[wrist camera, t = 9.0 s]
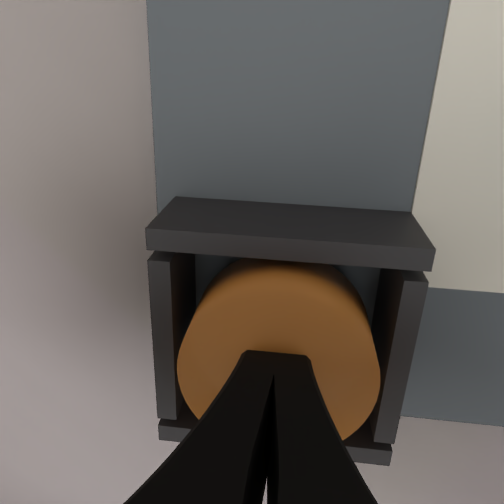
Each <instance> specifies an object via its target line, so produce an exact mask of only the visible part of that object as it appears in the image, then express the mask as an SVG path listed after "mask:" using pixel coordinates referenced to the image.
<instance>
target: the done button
mask: <svg viewBox="0 0 504 504" xmlns="http://www.w3.org/2000/svg"><path fill="white" fill-rule="evenodd" d="M246 350H256V351H267V352H278V353H288V354H299V355H306V356H307V357H308V358H309V359H310V360H311V364H312V368H313V371H314V375H315V378H316V381H317V384H318V387H319V389H320V392H321V394H322V397H323V399H324V402H325V404H326V407H327V409H328V411H329V413H330V416H331V418H332V420H333V422H334V424H335V426H336V428H337V430H338V432H339V435H340V437H341V439H342V441H343V440H344V439H346V438H347V437H349V436H350V435H351V434H353V433H354V432H355V431H356V430H357V429H359V427H360V426H361V425H362V424H363V423H364V422H365V421H366V419H367V418H368V416H369V415H370V413H371V412H372V410H373V408H374V406H375V403H376V401H377V398H378V394H379V390H380V367H379V363H378V359H377V355H376V350H375V346H374V342H373V338H372V333H371V329H370V325H369V321H368V316H367V312H366V308H365V305H364V303H363V300H362V298H361V296H360V295H359V293H358V291H357V290H356V288H355V287H354V286H353V284H352V283H351V282H350V281H349V280H348V279H347V278H346V277H345V276H344V275H343V274H342V273H341V272H339V271H338V270H337V269H335V268H334V267H333V266H331V265H329V264H323V263H310V262H297V261H284V260H271V259H258V258H245V257H244V258H241V259H239V260H237V261H235V262H233V263H232V264H230V265H229V266H227V267H226V268H224V269H223V270H222V271H220V272H219V273H218V274H217V275H216V276H215V277H214V278H213V280H212V281H211V282H210V283H209V285H208V286H207V288H206V290H205V291H204V293H203V295H202V297H201V300H200V302H199V304H198V307H197V309H196V311H195V314H194V316H193V318H192V321H191V323H190V325H189V327H188V330H187V332H186V334H185V337H184V339H183V342H182V344H181V347H180V350H179V354H178V359H177V375H178V382H179V386H180V389H181V392H182V394H183V397H184V399H185V401H186V403H187V404H188V406H189V408H190V409H191V411H192V412H193V413H194V415H195V416H196V417H197V418H198V419H200V418H201V417H202V415H203V414H204V412H205V411H206V410H207V408H208V407H209V406H210V404H211V403H212V401H213V400H214V399H215V397H216V396H217V394H218V393H219V392H220V390H221V389H222V387H223V386H224V384H225V382H226V381H227V379H228V378H229V376H230V375H231V373H232V371H233V370H234V368H235V366H236V364H237V362H238V360H239V358H240V356H241V354H242V353H243V352H245V351H246Z"/></svg>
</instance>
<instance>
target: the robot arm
mask: <svg viewBox="0 0 504 504" xmlns="http://www.w3.org/2000/svg"><path fill="white" fill-rule="evenodd" d="M266 479H267V504H378V503H377V501H376V500H375V498H374V496H373V495H372V493H371V491H370V490H369V488H368V486H367V485H366V483H365V481H364V480H363V478H362V476H361V474H360V472H359V471H358V469H357V467H356V465H355V463H354V462H353V460H352V458H351V456H350V454H349V452H348V450H347V449H346V447H345V445H344V443H343V441H342V439H341V437H340V435H339V432H338V430H337V428H336V426H335V424H334V422H333V420H332V418H331V416H330V413H329V411H328V409H327V407H326V404H325V402H324V399H323V397H322V394H321V392H320V389H319V387H318V384H317V381H316V378H315V375H314V371H313V368H312V364H311V360H310V359H309V358H308V357H307V356H306V355H299V354H288V353H278V352H267V351H256V350H246V351H245V352H243V353H242V354H241V356H240V358H239V360H238V362H237V364H236V366H235V368H234V370H233V371H232V373H231V375H230V376H229V378H228V379H227V381H226V382H225V384H224V386H223V387H222V389H221V390H220V392H219V393H218V394H217V396H216V397H215V399H214V400H213V401H212V403H211V404H210V406H209V407H208V408H207V410H206V411H205V412H204V414H203V415H202V417H201V418H200V419H199V421H198V422H197V423H196V424H195V426H194V427H193V428H192V429H191V430H190V432H189V433H188V434H187V435H186V436H185V438H184V439H183V440H182V441H181V443H180V444H179V445H178V446H177V447H176V449H175V450H174V451H173V452H172V453H171V454H170V456H169V457H168V458H167V459H166V460H165V461H164V462H163V463H162V464H161V466H160V467H159V468H158V469H157V470H156V471H155V472H154V473H153V474H152V475H151V476H150V477H149V478H148V479H147V480H146V481H145V483H144V484H143V485H142V486H141V487H140V488H139V489H138V490H137V491H136V492H135V493H134V494H133V495H132V496H131V497H130V498H129V499H128V500H127V501H126V502H124V503H123V504H262V501H263V496H264V490H265V485H266Z"/></svg>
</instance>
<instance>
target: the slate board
mask: <svg viewBox="0 0 504 504" xmlns="http://www.w3.org/2000/svg"><path fill="white" fill-rule="evenodd" d="M146 3H147V22H148V42H149V61H150V80H151V99H152V118H153V137H154V156H155V175H156V194H157V213H158V215H157V216H156V217H155V219H154V220H153V221H152V222H151V223H150V224H149V225H148V226H147V227H146V228H145V231H146V246H147V250H154V253H153V254H152V255H151V256H150V258H149V259H148V260H147V262H148V277H149V293H150V308H151V324H152V339H153V354H154V370H155V385H156V401H157V416H158V418H161V419H160V422H159V424H158V432H159V440H166V441H175V442H181V441H182V440H183V439H184V438H185V436H186V435H187V434H188V433H189V432H190V430H191V429H192V428H193V427H194V426H195V424H196V423H197V422H198V421H199V419H198V418H197V417H196V416H195V415H194V413H193V412H192V411H191V409H190V408H189V406H188V404H187V403H186V401H185V399H184V397H183V394H182V392H181V389H180V386H179V382H178V375H177V359H178V354H179V350H180V347H181V344H182V342H183V339H184V337H185V334H186V332H187V330H188V327H189V325H190V323H191V321H192V318H193V316H194V314H195V311H196V309H197V307H198V304H199V302H200V300H201V297H202V295H203V293H204V291H205V290H206V288H207V286H208V285H209V283H210V282H211V281H212V280H213V278H214V277H215V276H216V275H217V274H218V273H219V272H220V271H222V270H223V269H224V268H226V267H227V266H229V265H230V264H232V263H233V262H235V261H237V260H239V259H241V258H244V257H245V258H258V259H271V260H284V261H297V262H310V263H323V264H329V265H331V266H333V267H334V268H335V269H337V270H338V271H339V272H341V273H342V274H343V275H344V276H345V277H346V278H347V279H348V280H349V281H350V282H351V283H352V284H353V286H354V287H355V288H356V290H357V291H358V293H359V295H360V296H361V298H362V300H363V303H364V305H365V308H366V312H367V316H368V321H369V325H370V329H371V333H372V338H373V342H374V346H375V350H376V355H377V359H378V363H379V367H380V390H379V394H378V398H377V401H376V403H375V406H374V408H373V410H372V412H371V413H370V415H369V416H368V418H367V419H366V421H365V422H364V423H363V424H362V425H361V426H360V427H359V429H357V430H356V431H355V432H354V433H353V434H351V435H350V436H349V437H347V438H346V439H344V440H343V443H344V445H345V447H346V449H347V450H348V452H349V454H350V456H351V458H352V460H353V462H358V463H367V464H376V465H385V466H389V465H390V461H391V456H392V447H391V444H394V442H395V437H396V433H397V428H398V424H399V419H400V416H407V417H416V418H426V419H435V420H445V421H455V422H464V423H474V424H483V425H493V426H502V427H504V0H146Z"/></svg>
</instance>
